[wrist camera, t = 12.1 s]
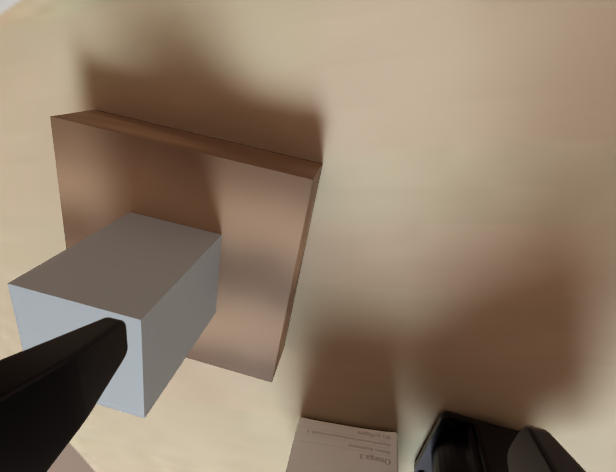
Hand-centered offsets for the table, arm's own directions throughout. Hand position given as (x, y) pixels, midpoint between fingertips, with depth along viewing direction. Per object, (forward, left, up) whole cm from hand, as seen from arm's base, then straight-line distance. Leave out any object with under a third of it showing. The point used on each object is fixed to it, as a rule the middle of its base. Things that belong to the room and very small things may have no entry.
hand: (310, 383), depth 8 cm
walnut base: (-5, +9, -13) cm, 16 cm away
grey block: (-5, +8, -10) cm, 14 cm away
